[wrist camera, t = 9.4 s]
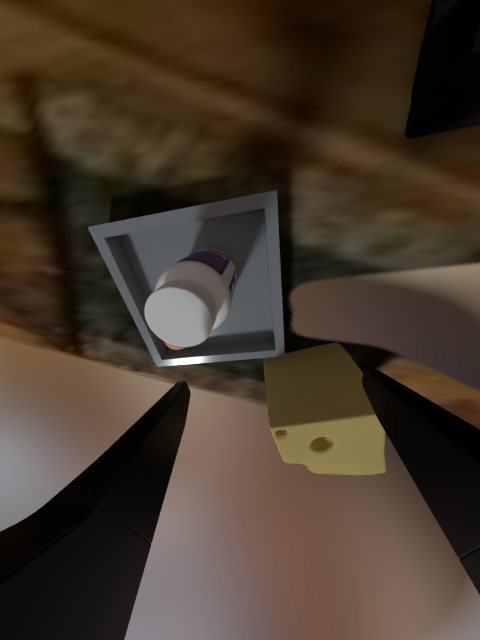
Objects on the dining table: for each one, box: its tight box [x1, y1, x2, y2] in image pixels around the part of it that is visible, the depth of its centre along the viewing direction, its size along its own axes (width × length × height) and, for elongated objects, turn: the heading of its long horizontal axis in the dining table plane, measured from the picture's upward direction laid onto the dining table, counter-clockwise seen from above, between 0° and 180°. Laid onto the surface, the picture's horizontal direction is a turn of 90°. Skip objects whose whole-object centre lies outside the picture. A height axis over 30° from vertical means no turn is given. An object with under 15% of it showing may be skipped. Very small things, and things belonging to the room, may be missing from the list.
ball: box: [164, 341, 185, 350], centre depth 21 cm, size 3×3×3 cm
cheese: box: [264, 342, 386, 475], centre depth 21 cm, size 10×11×10 cm
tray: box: [88, 190, 285, 367], centre depth 19 cm, size 16×16×3 cm
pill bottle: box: [144, 248, 237, 347], centre depth 15 cm, size 5×5×10 cm
